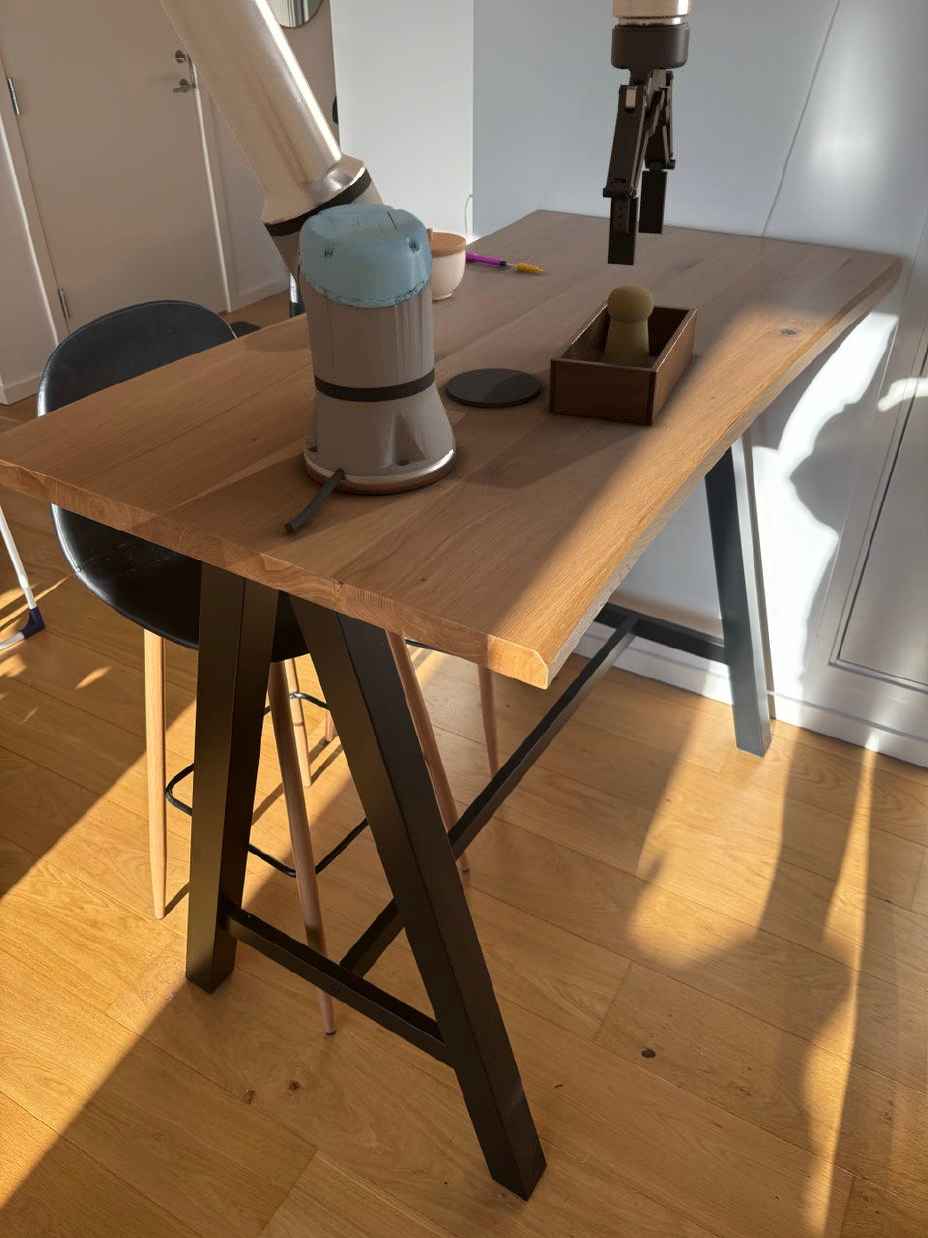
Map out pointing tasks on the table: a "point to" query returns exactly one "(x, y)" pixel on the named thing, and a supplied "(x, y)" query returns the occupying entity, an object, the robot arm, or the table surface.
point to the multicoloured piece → (500, 262)
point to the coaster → (493, 387)
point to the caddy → (621, 368)
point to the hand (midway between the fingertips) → (636, 247)
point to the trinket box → (446, 262)
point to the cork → (628, 326)
